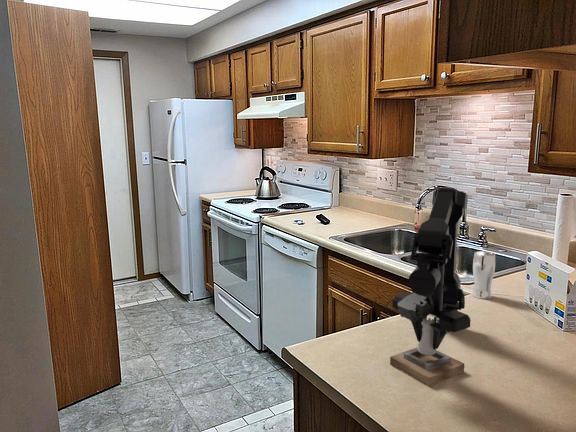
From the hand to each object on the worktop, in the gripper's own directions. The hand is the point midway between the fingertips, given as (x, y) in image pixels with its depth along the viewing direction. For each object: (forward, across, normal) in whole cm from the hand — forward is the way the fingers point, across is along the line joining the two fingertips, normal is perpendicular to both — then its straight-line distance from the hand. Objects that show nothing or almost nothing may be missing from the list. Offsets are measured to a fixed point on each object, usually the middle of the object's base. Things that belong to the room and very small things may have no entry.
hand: (427, 345), depth 111 cm
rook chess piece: (+2, 0, 0) cm, 2 cm away
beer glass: (+6, -24, +55) cm, 60 cm away
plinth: (+6, 0, 0) cm, 6 cm away
